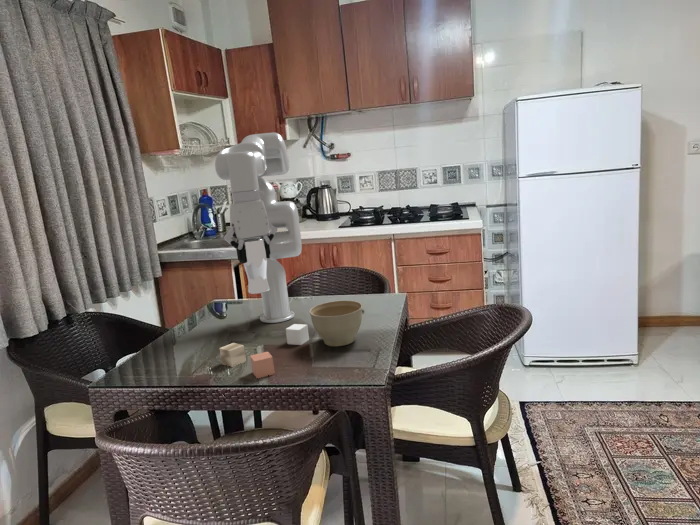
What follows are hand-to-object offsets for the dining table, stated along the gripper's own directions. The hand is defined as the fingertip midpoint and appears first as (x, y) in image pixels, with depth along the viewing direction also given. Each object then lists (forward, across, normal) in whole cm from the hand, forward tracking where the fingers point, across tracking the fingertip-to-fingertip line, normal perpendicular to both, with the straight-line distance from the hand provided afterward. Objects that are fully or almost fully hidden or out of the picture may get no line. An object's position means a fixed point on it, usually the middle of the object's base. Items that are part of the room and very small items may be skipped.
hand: (254, 259), depth 149 cm
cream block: (+30, -13, -5) cm, 33 cm away
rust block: (+29, +6, +10) cm, 32 cm away
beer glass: (+9, 0, 0) cm, 9 cm away
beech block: (+30, +9, -4) cm, 31 cm away
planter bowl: (+30, -22, +5) cm, 37 cm away
